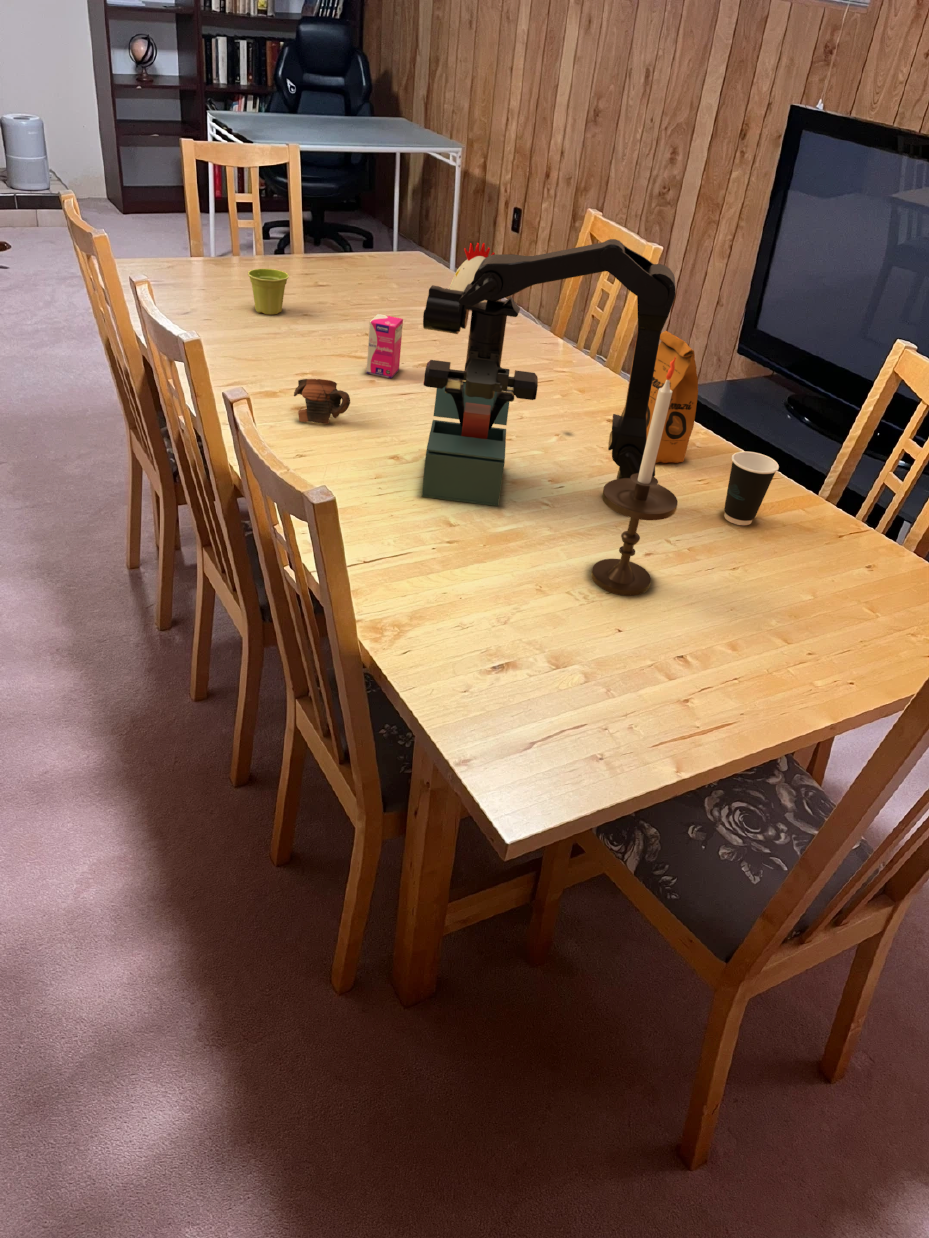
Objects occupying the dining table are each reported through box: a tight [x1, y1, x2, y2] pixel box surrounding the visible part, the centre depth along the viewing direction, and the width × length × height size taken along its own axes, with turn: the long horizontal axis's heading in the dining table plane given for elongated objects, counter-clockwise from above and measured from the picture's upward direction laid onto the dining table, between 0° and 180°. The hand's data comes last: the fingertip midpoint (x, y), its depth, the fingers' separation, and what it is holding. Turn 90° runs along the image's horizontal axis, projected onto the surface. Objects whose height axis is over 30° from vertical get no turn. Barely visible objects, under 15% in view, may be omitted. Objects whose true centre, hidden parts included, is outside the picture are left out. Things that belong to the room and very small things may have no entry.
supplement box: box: [365, 313, 404, 379], centre depth 206 cm, size 6×6×12 cm
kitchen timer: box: [448, 242, 502, 302], centre depth 253 cm, size 14×14×15 cm
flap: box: [433, 383, 510, 426], centre depth 171 cm, size 13×7×1 cm
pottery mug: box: [293, 378, 351, 425], centre depth 186 cm, size 12×10×8 cm
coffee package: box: [646, 330, 699, 464], centre depth 185 cm, size 10×12×22 cm
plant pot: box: [247, 268, 290, 315], centre depth 231 cm, size 9×9×9 cm
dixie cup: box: [723, 450, 780, 526], centre depth 168 cm, size 8×8×11 cm
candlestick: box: [590, 357, 679, 597], centre depth 140 cm, size 11×11×35 cm
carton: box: [421, 419, 507, 507], centre depth 168 cm, size 13×14×9 cm
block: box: [462, 403, 491, 439], centre depth 167 cm, size 4×4×4 cm
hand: (475, 427), depth 168 cm, fingers closed on block, 4 cm apart
